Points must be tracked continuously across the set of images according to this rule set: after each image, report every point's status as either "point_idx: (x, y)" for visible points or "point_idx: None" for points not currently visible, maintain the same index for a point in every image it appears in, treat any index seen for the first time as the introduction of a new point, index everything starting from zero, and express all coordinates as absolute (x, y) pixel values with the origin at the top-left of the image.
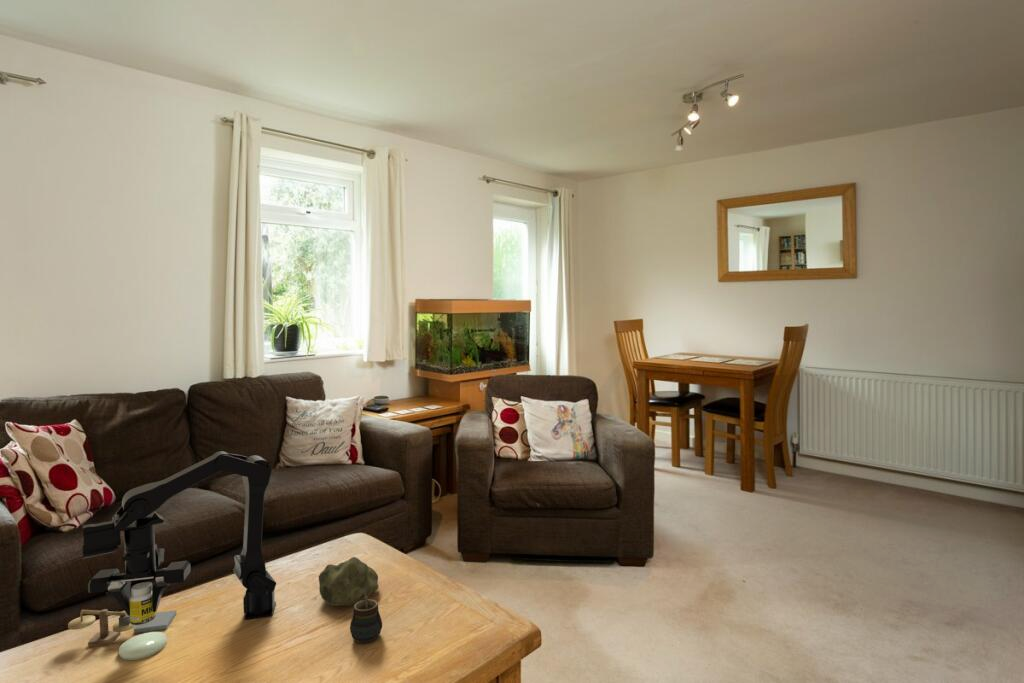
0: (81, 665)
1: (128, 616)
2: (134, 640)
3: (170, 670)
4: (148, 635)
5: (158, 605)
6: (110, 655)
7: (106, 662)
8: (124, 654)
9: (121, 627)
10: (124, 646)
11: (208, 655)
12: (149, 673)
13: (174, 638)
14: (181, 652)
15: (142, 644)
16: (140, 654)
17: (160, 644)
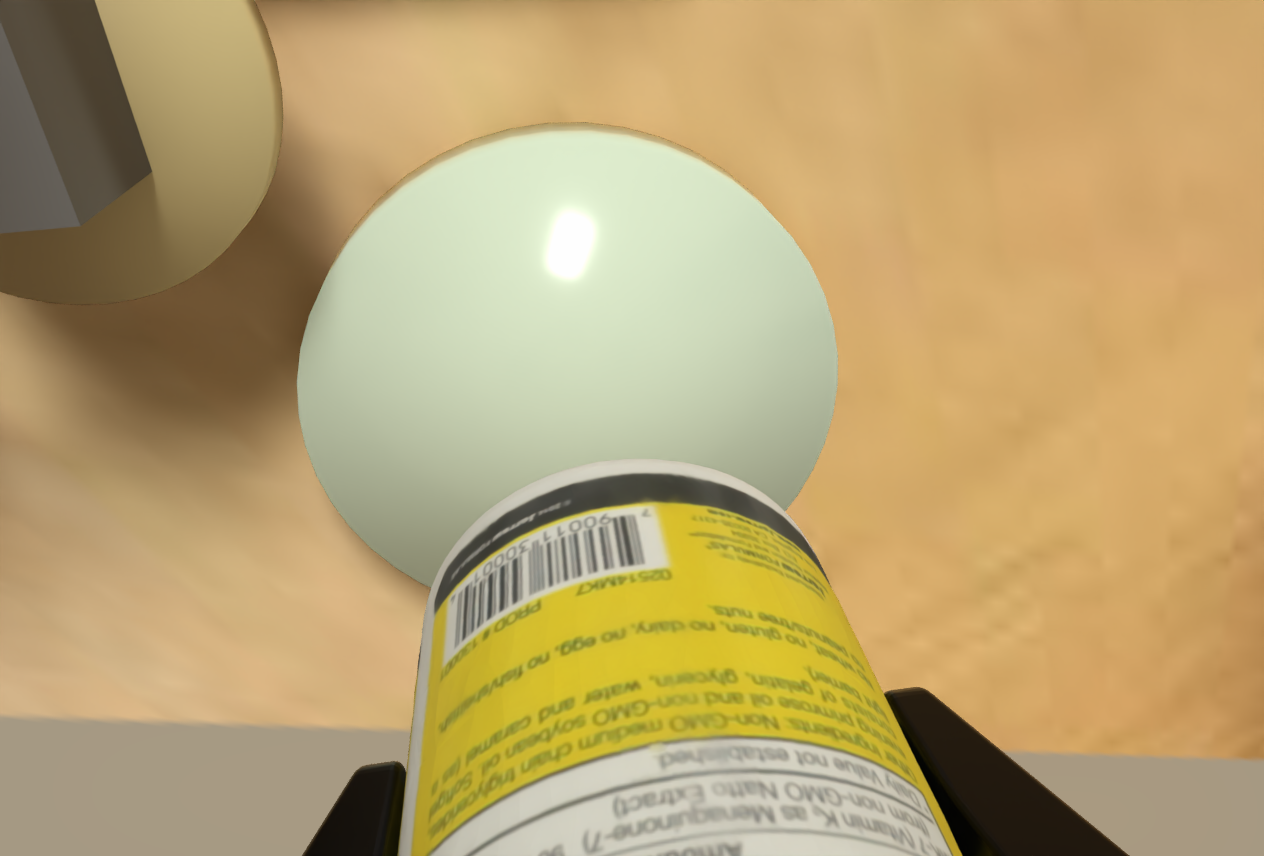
0: (37, 606)
1: (64, 203)
2: (423, 343)
3: None
4: (564, 238)
5: (997, 761)
6: (243, 471)
7: (296, 582)
8: None
9: (57, 232)
10: (369, 461)
11: (1231, 566)
12: None
13: (883, 215)
14: (1004, 501)
15: (584, 441)
16: None
17: (806, 470)
